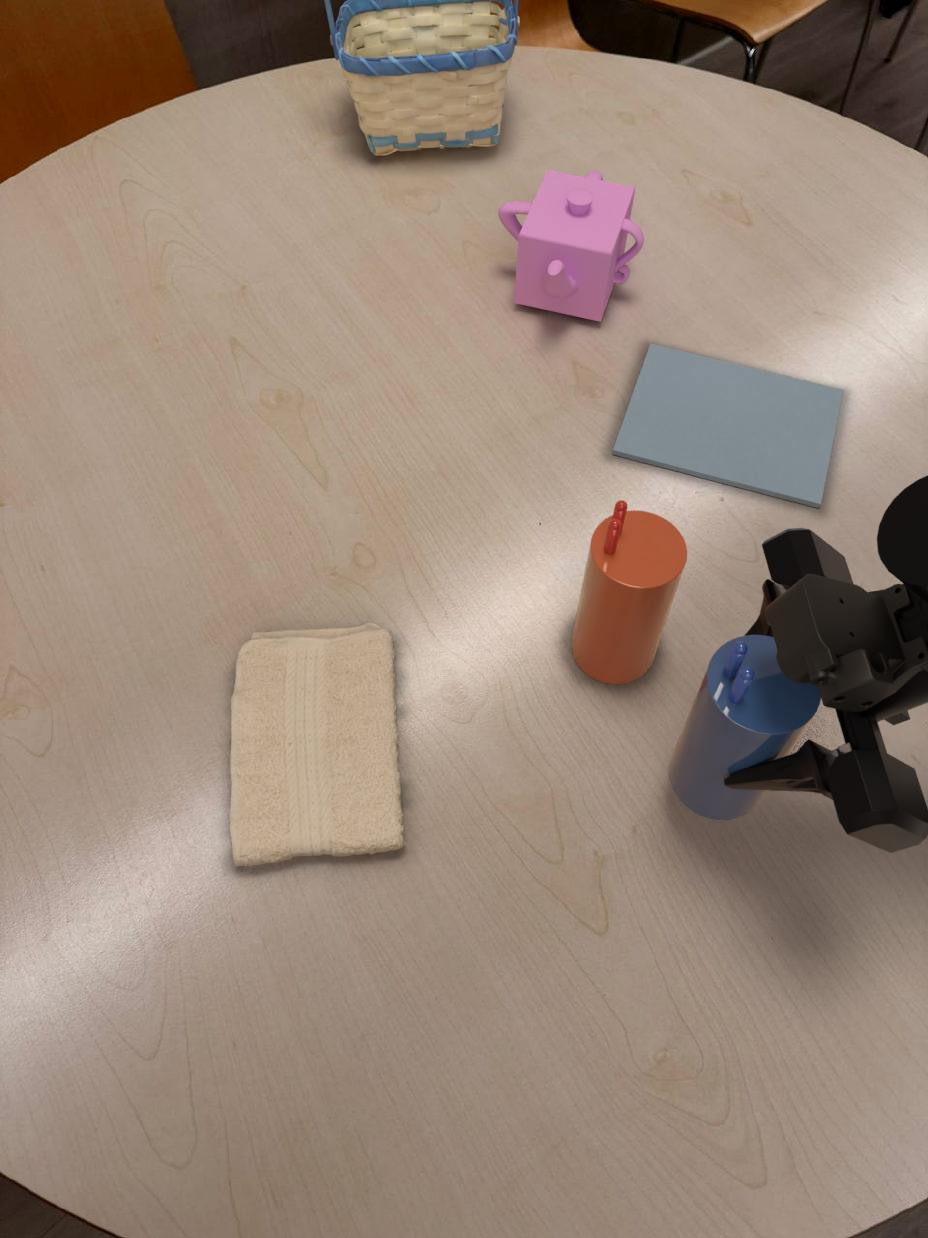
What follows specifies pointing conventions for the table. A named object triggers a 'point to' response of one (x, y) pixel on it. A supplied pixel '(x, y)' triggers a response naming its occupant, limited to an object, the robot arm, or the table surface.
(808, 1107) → the table surface
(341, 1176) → the table surface
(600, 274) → the teapot
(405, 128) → the basket
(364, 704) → the washcloth
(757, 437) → the blue mat
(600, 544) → the red spoon jar
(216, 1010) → the table surface
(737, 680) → the blue spoon jar
